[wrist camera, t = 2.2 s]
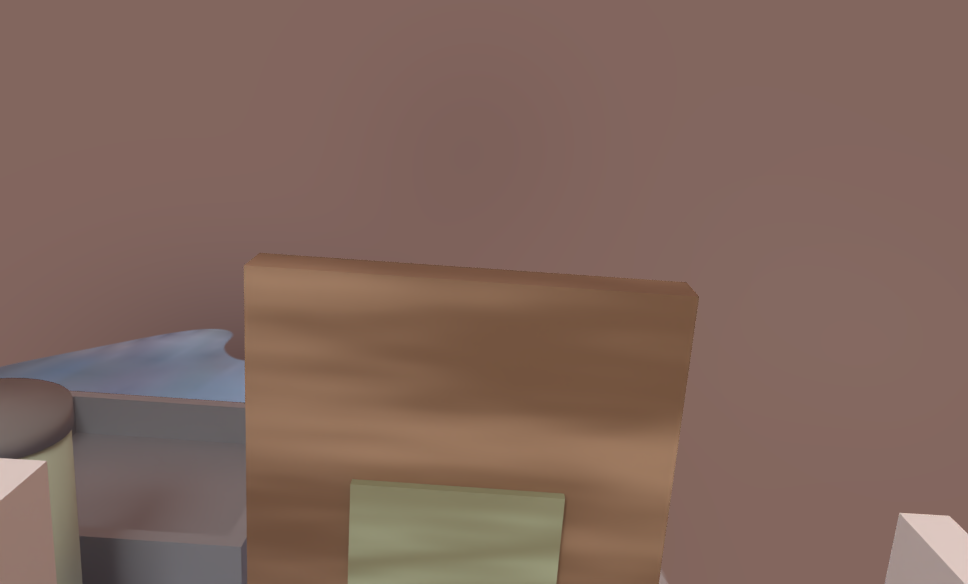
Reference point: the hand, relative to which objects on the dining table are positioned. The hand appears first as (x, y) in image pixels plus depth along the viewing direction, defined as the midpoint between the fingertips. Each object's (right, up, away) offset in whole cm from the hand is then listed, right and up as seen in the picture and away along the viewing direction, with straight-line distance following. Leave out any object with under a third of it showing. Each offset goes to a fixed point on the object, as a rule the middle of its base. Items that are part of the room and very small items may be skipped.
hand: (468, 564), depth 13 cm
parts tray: (-19, -8, +34) cm, 39 cm away
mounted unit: (-1, -14, +16) cm, 22 cm away
